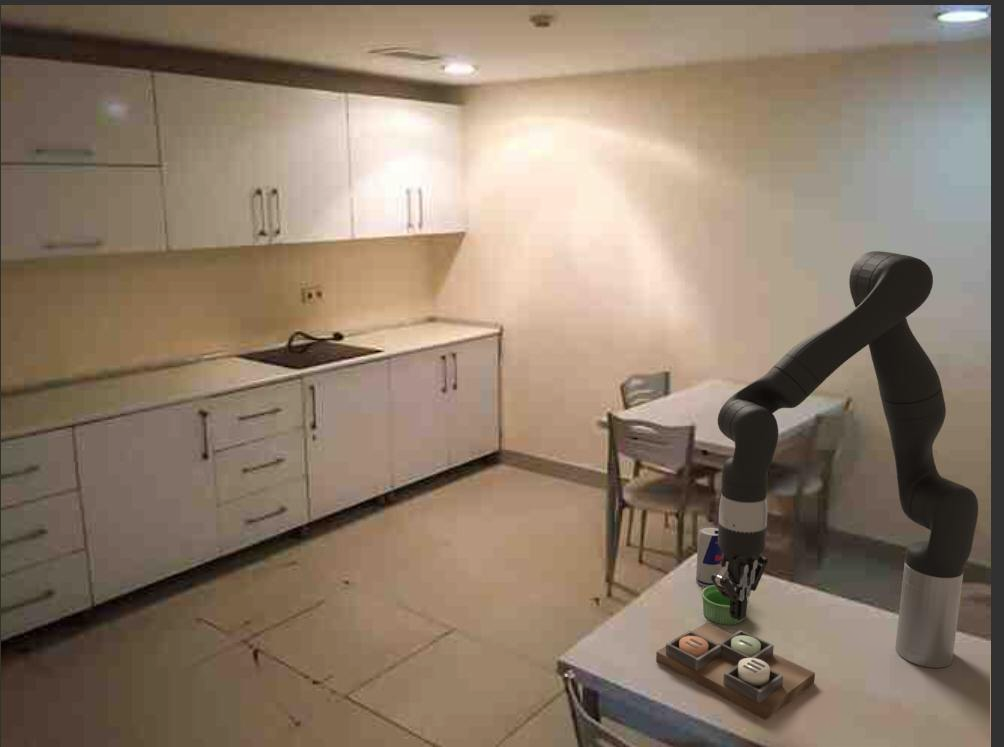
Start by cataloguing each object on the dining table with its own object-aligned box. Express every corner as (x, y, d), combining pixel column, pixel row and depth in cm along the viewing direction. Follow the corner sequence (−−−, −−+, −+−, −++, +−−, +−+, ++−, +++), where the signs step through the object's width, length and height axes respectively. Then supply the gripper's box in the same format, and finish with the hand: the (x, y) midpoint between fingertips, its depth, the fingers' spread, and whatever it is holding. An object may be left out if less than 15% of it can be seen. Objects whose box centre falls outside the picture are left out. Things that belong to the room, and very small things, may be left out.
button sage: (741, 642, 147) (741, 631, 146) (765, 653, 143) (766, 643, 143) (725, 652, 144) (725, 641, 143) (749, 664, 140) (750, 653, 139)
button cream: (748, 664, 138) (749, 653, 137) (775, 677, 134) (775, 666, 133) (731, 676, 134) (732, 665, 134) (758, 690, 131) (759, 678, 130)
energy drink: (722, 589, 171) (725, 536, 168) (696, 587, 172) (698, 534, 169) (720, 577, 176) (723, 526, 173) (695, 575, 177) (697, 524, 174)
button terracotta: (690, 642, 147) (690, 632, 146) (713, 654, 143) (714, 643, 143) (673, 652, 144) (673, 642, 143) (696, 664, 140) (696, 654, 139)
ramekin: (750, 628, 156) (751, 607, 155) (702, 625, 157) (703, 604, 156) (744, 605, 164) (745, 585, 163) (699, 602, 166) (699, 582, 165)
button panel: (706, 631, 155) (707, 612, 154) (814, 683, 138) (815, 662, 137) (656, 661, 145) (656, 641, 144) (765, 720, 129) (767, 698, 128)
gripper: (737, 539, 125) (733, 640, 129) (786, 516, 133) (780, 612, 137) (698, 524, 130) (694, 622, 134) (746, 503, 138) (742, 596, 142)
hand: (737, 617), depth 136 cm, fingers closed
